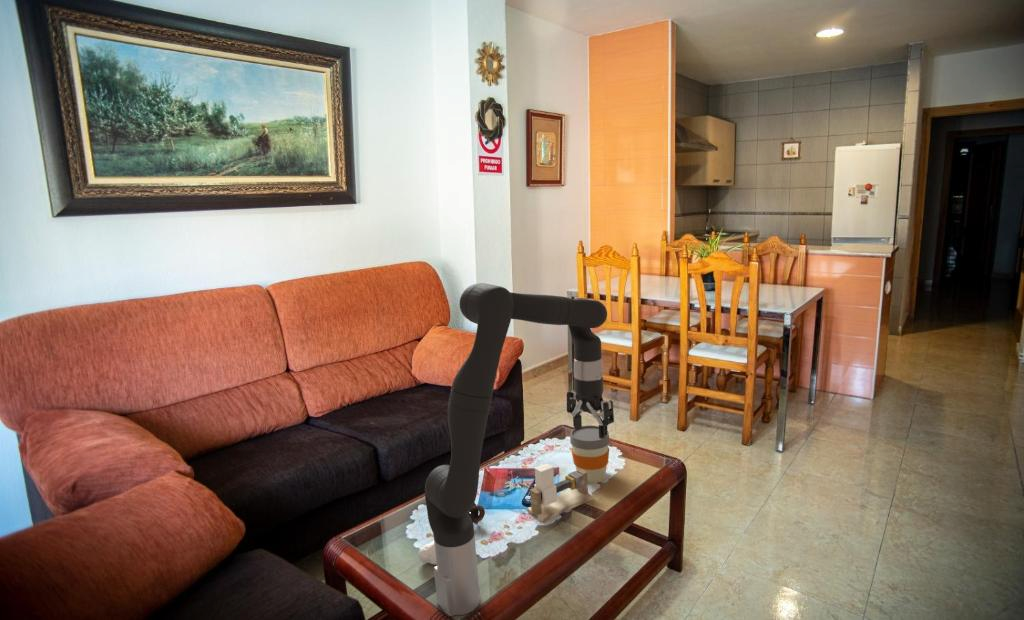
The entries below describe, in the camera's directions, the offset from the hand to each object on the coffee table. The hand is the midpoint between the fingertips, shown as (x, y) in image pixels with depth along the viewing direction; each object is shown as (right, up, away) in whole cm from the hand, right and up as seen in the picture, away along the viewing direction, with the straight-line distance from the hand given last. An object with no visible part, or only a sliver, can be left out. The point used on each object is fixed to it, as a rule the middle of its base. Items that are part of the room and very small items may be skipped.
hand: (590, 433), depth 159 cm
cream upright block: (-11, -23, +16) cm, 30 cm away
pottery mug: (-34, -29, +14) cm, 46 cm away
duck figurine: (-39, -33, -3) cm, 51 cm away
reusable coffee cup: (+5, -21, +36) cm, 42 cm away
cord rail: (-6, -25, +19) cm, 33 cm away
